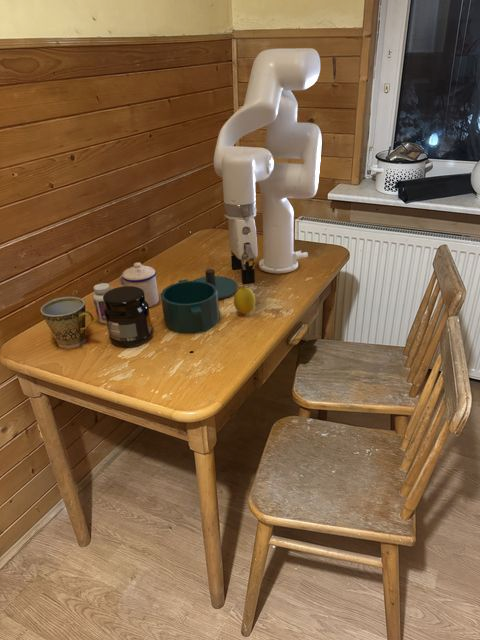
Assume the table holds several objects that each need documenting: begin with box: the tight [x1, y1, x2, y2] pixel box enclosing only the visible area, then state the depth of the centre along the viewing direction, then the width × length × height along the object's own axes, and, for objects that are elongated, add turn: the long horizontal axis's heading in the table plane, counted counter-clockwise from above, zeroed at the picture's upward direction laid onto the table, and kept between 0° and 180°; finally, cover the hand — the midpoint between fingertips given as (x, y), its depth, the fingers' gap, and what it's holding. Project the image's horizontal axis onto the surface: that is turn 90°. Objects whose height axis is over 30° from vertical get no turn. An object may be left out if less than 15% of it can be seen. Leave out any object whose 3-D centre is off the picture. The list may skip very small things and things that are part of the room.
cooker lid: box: [192, 268, 238, 300], centre depth 147 cm, size 15×15×6 cm
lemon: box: [233, 286, 256, 316], centre depth 133 cm, size 6×6×8 cm
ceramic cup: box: [40, 296, 95, 350], centre depth 122 cm, size 13×10×10 cm
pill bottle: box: [92, 282, 111, 325], centre depth 132 cm, size 5×5×10 cm
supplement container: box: [103, 286, 153, 348], centre depth 123 cm, size 10×10×12 cm
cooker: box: [160, 279, 220, 334], centre depth 131 cm, size 14×20×8 cm
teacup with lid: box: [118, 262, 160, 308], centre depth 140 cm, size 12×9×12 cm
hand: (243, 276), depth 129 cm, fingers open, 9 cm apart
